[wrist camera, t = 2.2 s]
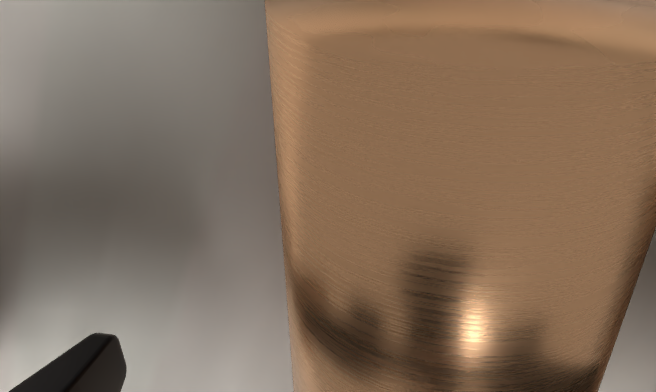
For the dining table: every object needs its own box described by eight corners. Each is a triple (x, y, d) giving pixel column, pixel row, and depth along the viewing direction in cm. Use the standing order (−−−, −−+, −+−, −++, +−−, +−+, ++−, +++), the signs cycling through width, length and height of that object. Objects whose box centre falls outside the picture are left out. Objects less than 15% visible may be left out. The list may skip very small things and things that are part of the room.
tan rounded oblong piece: (466, 385, 17) (592, 587, 12) (279, 437, 16) (345, 683, 11) (540, -57, 11) (857, 31, 6) (231, -33, 9) (342, 104, 5)
